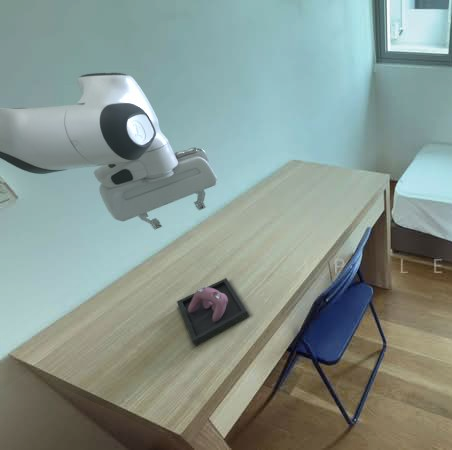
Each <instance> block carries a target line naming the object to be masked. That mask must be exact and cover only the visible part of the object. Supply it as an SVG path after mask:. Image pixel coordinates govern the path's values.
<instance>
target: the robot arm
mask: <svg viewBox="0 0 452 450" xmlns="http://www.w3.org/2000/svg"><path fill="white" fill-rule="evenodd" d="M77 83H78V87H79V89H80V91H81V94H82V95H81V97H80V99H79V100H78V101H77V102H76V103H75V104H66V105H55V106H54V105H53V106H40V107H14V108H12V107H11V108H10V107H0V159H1V160H2V161H5V162H7V163H8V164H10V165H11V166H14V167H15V168H17V169H20V170H22V171H24V172H27V173H31V174H34V175H35V174H36V175H45V174H51V173H58V172H63V171H67V170H73V169H74V170H75V169H84V168H93V167H97V168H96V169H95V170H94V171H93V174H94V177H95V179H97V181H98V182H99V183H100V185H99V194H100V197H101V199H102V201H103V204H104V206H105V207H106V209H107V211H108V212H109V214H110V215H111V217H112V218H113V219H114V220H116V221H119V222H126V221H129V220H132V219H134V218H136V217H138V218H139V219H140V220H141V221H143V222H145V223H148V224H149V225H150V227H151V228H152V229H153V230H154V231H156V230H158V229H160V228H162V227H163V226H162V223H161V222H160V220H159V219H158V218H156V217H154V218H149V214H148V213H149V212H151V211H154V210H156V209H159V208H161V207H164V206H167V205H169V204H171V203H174V202H177V201H179V200H181V199H184V198H186V197H189V196H193V195H197V196H196V201H193V204H194V206H195V209H196V210H198V211H202V210H204V209H206V208H207V207H206V203H205V198H206V192H205V190H207V189H210V188H212V187H215V186H217V183H218V177H217V175H216V174H215V172H214V169H213V168H212V166H211V165H210V164H209V157H208V155H207V153H206V151H205V150H203V148H197V147H190V148H188V149H185V150H180V151H176V152H174V149H173V148H172V145H171V144H170V141H169V139H168V138H167V137H166V135H164V133H163V132H162V130H161V127H160V124H159V119H158V116H157V115H156V112H155V111H154V108H153V106H152V105H151V102H150V101H149V100H148V97H147V96H146V94H145V92H144V91H143V90H142V88H141V86H140V85H139V84H138V82H137V81H136V80H135V79H134V77H133V76H131V75H129V74H127V73H123V72H94V73H86V74H82V75H80V76H79V77H77Z"/></svg>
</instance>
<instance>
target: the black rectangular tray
mask: <svg viewBox="0 0 452 450" xmlns="http://www.w3.org/2000/svg"><path fill="white" fill-rule="evenodd" d="M207 287H208V288H213V289H216V290H218V291H219V292H221V293H223V294H225V295H226V296H227V298H228V304H227V305H226V308H225V312H224V314H223V316H222V317H221V319H220V320H219V321H217V322H213V320H212V317H213V313H214V311H213V309H212V307H210V308H205V307H204V306H203V303H201V305H200V306H199V308H198V309H197V310H196V311H195V312H194V313H189V311H188V308H189V305H190V303H191V301H192V299H193V296H194V294H195V292H193V293H191V294H189V295H187V296H185V297H183V298H181V299H179V300H177V301H176V304H177V306H178V308H179V311H180V313H181V316H182V318H183V321H184V323H185V327H186V329H187V332H188V334H189V336H190V339H191V342H192V343H193V344H194V346H195V347H197V346H199V345H201V344H203V343H205V342H207V341H208V340H210V339H211V338H214V337H215V336H217V335H219V334H220V333H223V332H224V331H227V330H228V329H229V328H231V327H233V326H234V325H236V324H239V323H240V322H242V321H244V320H245V319H247V318H249V317H250V314H249V312H248V310H247V309H246V307H245V305H244V304H243V302H242V301H241V299H240V297H239V296H238V294H237V293H236V291H235V290H234V288H233V286H232V284H231V283H230V282H229V280H228V278H227V277H225V278H223V279H220V280H218V281H216V282H214V283H212V284H210V285H208V286H206V288H207Z"/></svg>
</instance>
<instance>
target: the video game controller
mask: <svg viewBox="0 0 452 450" xmlns="http://www.w3.org/2000/svg"><path fill="white" fill-rule="evenodd" d="M206 287H207V288H206ZM206 287H201V288H199V289H197V290H196V291H195V292H194V293H195V294H194V296H193V299H192V301H191V303H190V305H189V308H188V311H189V313H194V312H195V311H196V310H197V309H198V308H199V306H200V305H201V303H203V306H204V307H205V308H210V307H212V309H213V311H214V313H213V317H212V320H213V322H217V321H219V320H220V319H221V317H222V316H223V314H224V312H225V308H226V305H227V304H228V298H227V296H226V295H225V294H223V293H221V292H219V291H218V290H216V289H213V288H208V286H206Z"/></svg>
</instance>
